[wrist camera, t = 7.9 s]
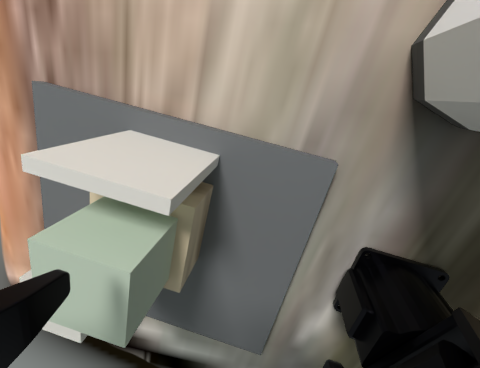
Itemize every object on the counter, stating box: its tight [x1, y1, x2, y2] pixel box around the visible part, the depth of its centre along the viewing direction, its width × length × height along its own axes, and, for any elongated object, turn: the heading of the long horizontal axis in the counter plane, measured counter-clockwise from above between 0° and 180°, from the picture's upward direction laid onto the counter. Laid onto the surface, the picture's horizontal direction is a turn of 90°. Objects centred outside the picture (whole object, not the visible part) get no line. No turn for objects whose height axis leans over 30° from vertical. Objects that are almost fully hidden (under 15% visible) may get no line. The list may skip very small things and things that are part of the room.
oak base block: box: [90, 182, 213, 293], centre depth 18 cm, size 7×7×4 cm
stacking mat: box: [21, 81, 338, 355], centre depth 18 cm, size 23×20×9 cm
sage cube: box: [27, 196, 178, 348], centre depth 14 cm, size 5×5×5 cm
